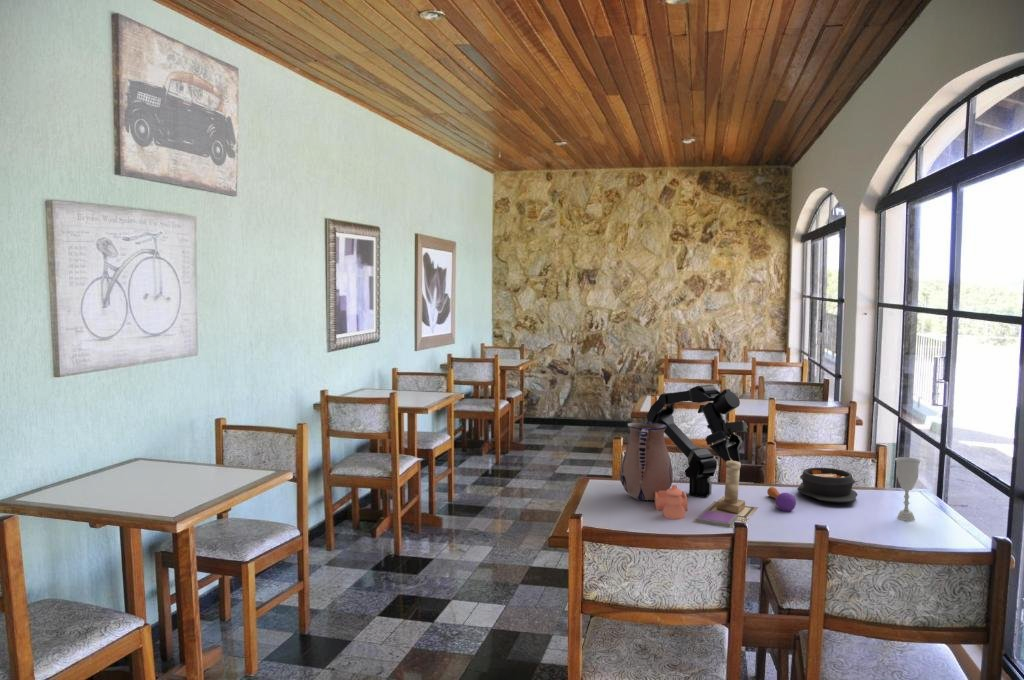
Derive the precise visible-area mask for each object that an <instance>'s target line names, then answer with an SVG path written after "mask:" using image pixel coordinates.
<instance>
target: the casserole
mask: <svg viewBox="0 0 1024 680" xmlns="http://www.w3.org/2000/svg"><path fill="white" fill-rule="evenodd" d="M799 477H800V479H801V481H802V482H801V483H800V484H799V485H798V487H797V488H796V489H797V491H798V492H799V493H801V494H802V495H805V496H808V497H810V498H812V499H815V500H818V501H822V502H828V503H851V502H855V501H856V500H857V496H858V492H856V491H855V490H854V489H853V485H854V484H855V483H856V480H855V479H854V477H853V474H852V473H851V472H849V471H845V470H843V469H838V468H831V467H811V468H806V469H805V468H804V469H803V471H802V474H801V475H800V476H799Z"/></svg>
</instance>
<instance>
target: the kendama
mask: <svg viewBox="0 0 1024 680" xmlns="http://www.w3.org/2000/svg"><path fill="white" fill-rule="evenodd" d="M767 496H769V497H771V498H774V499H775V506H776V507H777V508H778V509H779V511H783V512H791V511H793V510H794V509H795V508H796V505H797V501H796V498H795V496H794V495H792V494H791V493H788V492H781V493H780V492H779V491H778V489H777V488H776V487H774V486H772V487H771V486H770V487H768V489H767Z"/></svg>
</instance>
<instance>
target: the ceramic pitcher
mask: <svg viewBox="0 0 1024 680" xmlns="http://www.w3.org/2000/svg"><path fill="white" fill-rule="evenodd" d="M651 423H652V422H648V421H643V422H634V421H633V422H627V427H628V428H629V431H630V434H629V435H630V436H629V439H628V442H627V446H626V449H625V452H624V455H623V458H622V461H621V467H620V469H619V479H620V480H619V481H620V483H621V485H622V486H623V488H624V491H625V492H626V494H628V495H629V496H630V497H632V498H633V499H635V500H638V501H644V500H647V501H648V500H651V501H655V491H656V492H658V491H667V490H668V489H670V488H672V485H673V478H674V477H673V466H672V462H671V458H670V455H669V452H668V451H669V450H668V447H667V445H666V441H665V436H664V435H665V433H664V430H665V429H666V428H667V426H666V425H664V424H659V423H656V424H651Z"/></svg>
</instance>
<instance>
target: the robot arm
mask: <svg viewBox="0 0 1024 680" xmlns="http://www.w3.org/2000/svg"><path fill="white" fill-rule="evenodd" d="M683 402H685V403H686V402H692V403H697V404H699V408H698V410H697V413H698V414H703V415H704V418H705V420H706V422H707V425H706V427H707V429H708V430H710V433H711V434H709V435H706V437H705V442H706V445H707V446H709V448H710V449H712V450H713V451H714V452H715V453H716V454H717V455H718V456H719V458H721V459H722V460H723V461H724V462H725V463H726V461H737V462H740V463H741V458H740V447H741V446H742V444H743V442H744V441H743V439H742V436H739V435H737V434H735V433H745V434H746V433H748V428H749V426H748V424H747V422H745V421H744V420H736V421H733V422H732V421H731V422H729V420H727V419H726V418H725V416H724V415H727V414H729V413H730V412H732V411H734V410H736V408H738V407H739V406H740V405H741V402H740V398H739V397H738V395H736V394H735V392H732V391H731V389H730V388H725V389H723V390H722V391H721V392H720V391H719V390H718V389H716V388H715V386H714V385H713V384H706V385H703V384H702V385H697V386H693V387H691V388H690V389H688V390H684V391H677V392H664V393H661V394H660V395H659V397H658V399H656V401H655V402H654V403H653V404H652V405H651V406H650V408H649V410H648V412H647V415H646V422H652V423H651V424H656V423H659V424H664V425H666V426H667V428H666V429H665V430H664V435H666V436H667V437H668V438H669V439H670V441H672V442H673V444H674V445H675V446H676V447H677V448H678V450H680V451H681V452H682V454H683V455H684V456H685V457H686V458H687V465H688V466H687V468H686V469H685V470H684V473H685V477H686V478H689V479H688V480H689V485H688V487H689V490H688V491H689V492H688V493H687V495H688V496H690V497H691V496H692V497H700V498H708V497H709V496H710V495H712V481H711V477H714V476H715V472H716V470H717V467H718V466H717V465H718V464H717V462H718V461H717V459H716V458H715V454H713V453H712V452H711V451H710V450H709V449H708V448H705V447H704V448H698V446H696V444H695V443H694V442H693V441H692V440H691V439H690V438H689V437H688V436H687V435H686V433H684V432H683V430H682V429H681V428H680V427H678V425H677V424H676V423H675V421H674V419H675V418H674V416H673V414H674V412H675V407H674V406H675V404H676V403H683ZM700 403H701V404H700ZM702 403H706V404H702ZM665 406H666V407H665Z"/></svg>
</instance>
